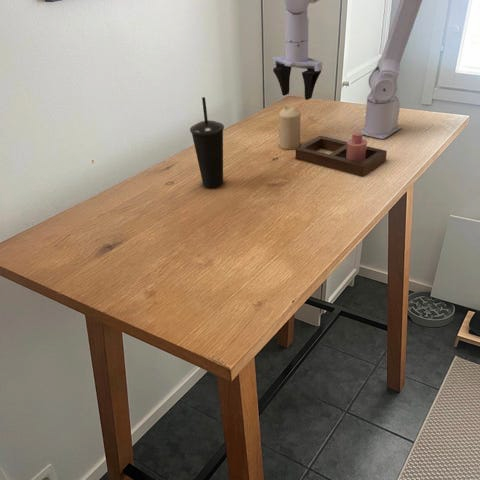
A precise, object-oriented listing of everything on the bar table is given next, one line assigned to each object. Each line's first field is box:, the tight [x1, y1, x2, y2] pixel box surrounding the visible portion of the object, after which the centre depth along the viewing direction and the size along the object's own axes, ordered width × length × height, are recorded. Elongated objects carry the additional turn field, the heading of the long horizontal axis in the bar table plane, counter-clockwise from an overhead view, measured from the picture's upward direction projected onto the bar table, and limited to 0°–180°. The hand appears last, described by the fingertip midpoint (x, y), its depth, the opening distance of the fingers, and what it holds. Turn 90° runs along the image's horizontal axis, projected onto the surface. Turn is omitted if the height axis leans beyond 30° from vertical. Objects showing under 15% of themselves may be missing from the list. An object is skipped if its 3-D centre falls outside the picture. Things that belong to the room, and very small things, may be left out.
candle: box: [278, 105, 301, 150], centre depth 134 cm, size 6×6×10 cm
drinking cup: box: [189, 96, 225, 190], centre depth 115 cm, size 8×8×20 cm
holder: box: [295, 135, 388, 177], centre depth 126 cm, size 11×20×3 cm, turn 48°
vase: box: [346, 131, 368, 162], centre depth 122 cm, size 5×5×8 cm
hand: (296, 96), depth 136 cm, fingers open, 7 cm apart
